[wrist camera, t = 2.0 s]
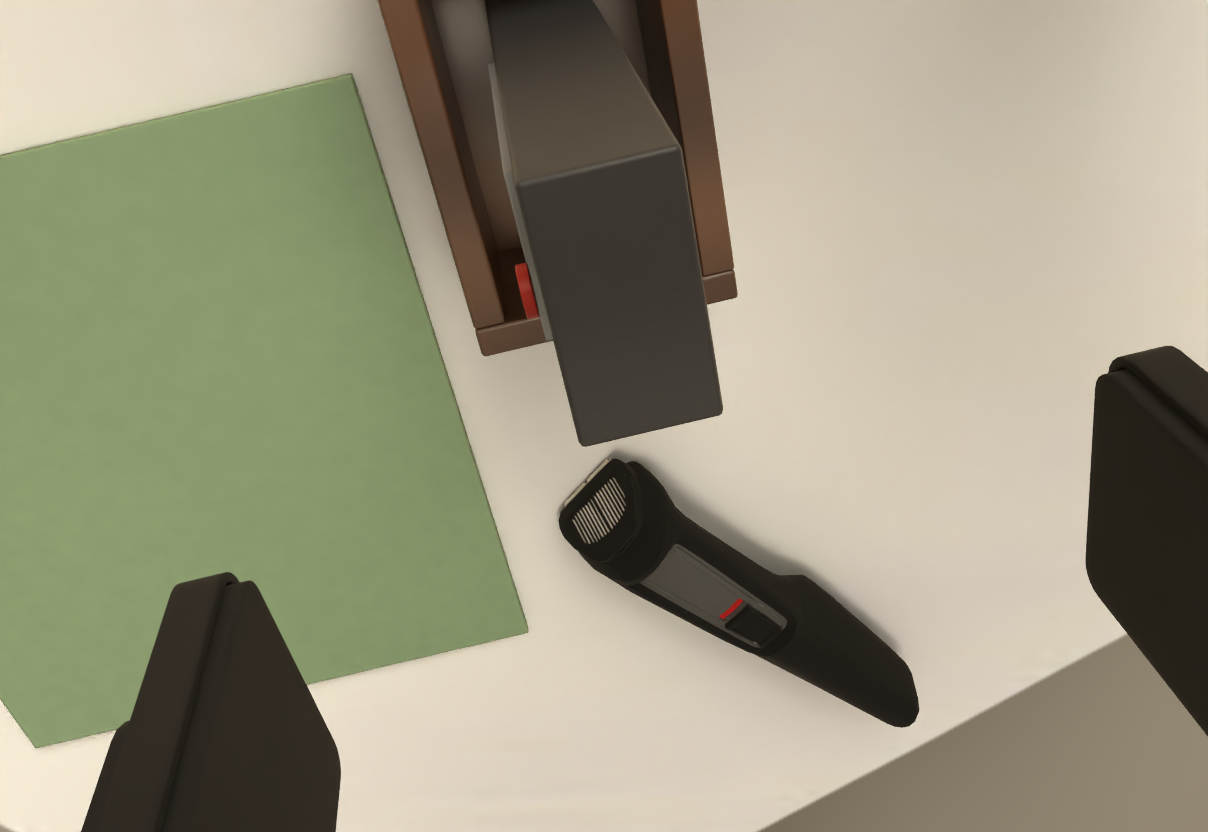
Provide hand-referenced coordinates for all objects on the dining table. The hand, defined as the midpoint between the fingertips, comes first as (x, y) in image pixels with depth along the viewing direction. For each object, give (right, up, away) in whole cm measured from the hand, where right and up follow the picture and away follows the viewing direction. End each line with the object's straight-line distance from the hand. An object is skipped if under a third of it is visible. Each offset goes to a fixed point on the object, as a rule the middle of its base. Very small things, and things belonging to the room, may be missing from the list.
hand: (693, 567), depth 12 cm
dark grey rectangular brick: (-1, +7, +10) cm, 12 cm away
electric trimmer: (+4, -4, +27) cm, 28 cm away
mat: (-14, 0, +21) cm, 26 cm away
